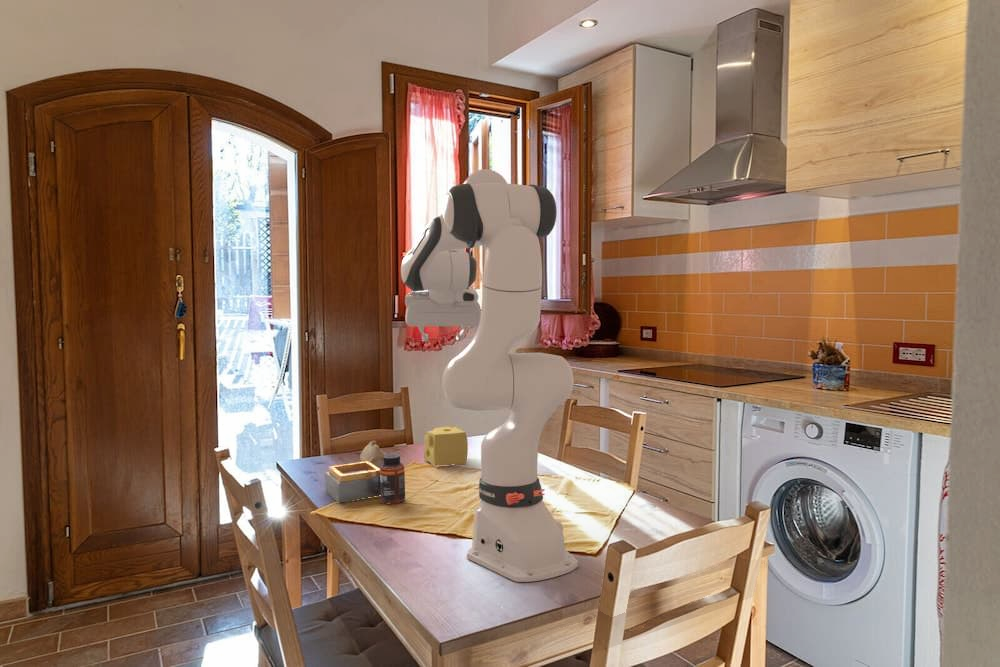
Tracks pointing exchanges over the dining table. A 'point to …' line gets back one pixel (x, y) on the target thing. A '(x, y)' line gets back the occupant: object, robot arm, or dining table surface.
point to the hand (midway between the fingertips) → (442, 340)
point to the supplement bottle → (392, 479)
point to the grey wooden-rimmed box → (353, 481)
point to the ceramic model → (373, 454)
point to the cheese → (446, 446)
